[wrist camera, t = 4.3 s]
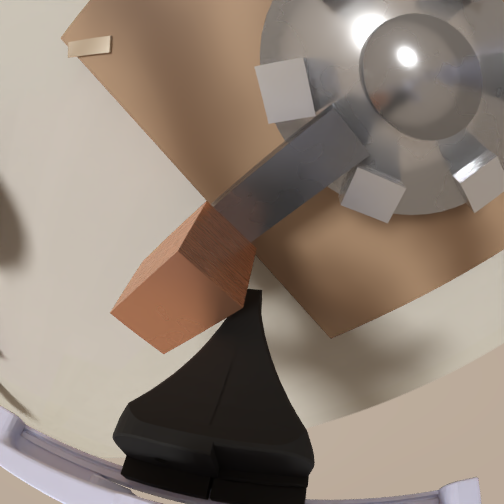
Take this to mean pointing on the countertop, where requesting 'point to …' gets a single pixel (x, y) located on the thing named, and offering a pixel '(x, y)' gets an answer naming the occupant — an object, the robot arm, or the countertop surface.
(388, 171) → the valve handle
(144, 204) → the countertop surface
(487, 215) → the base plate
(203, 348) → the robot arm
